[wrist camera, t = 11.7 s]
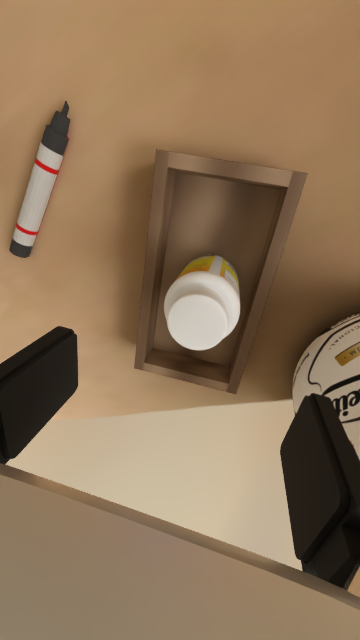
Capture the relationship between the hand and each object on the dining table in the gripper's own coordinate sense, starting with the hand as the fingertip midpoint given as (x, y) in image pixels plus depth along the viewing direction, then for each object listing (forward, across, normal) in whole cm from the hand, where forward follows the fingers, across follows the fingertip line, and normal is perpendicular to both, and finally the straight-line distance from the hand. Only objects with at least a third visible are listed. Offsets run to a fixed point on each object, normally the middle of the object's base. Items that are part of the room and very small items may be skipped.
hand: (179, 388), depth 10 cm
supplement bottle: (+17, +1, 0) cm, 17 cm away
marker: (+18, +19, -5) cm, 26 cm away
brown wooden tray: (+18, +1, 0) cm, 18 cm away
